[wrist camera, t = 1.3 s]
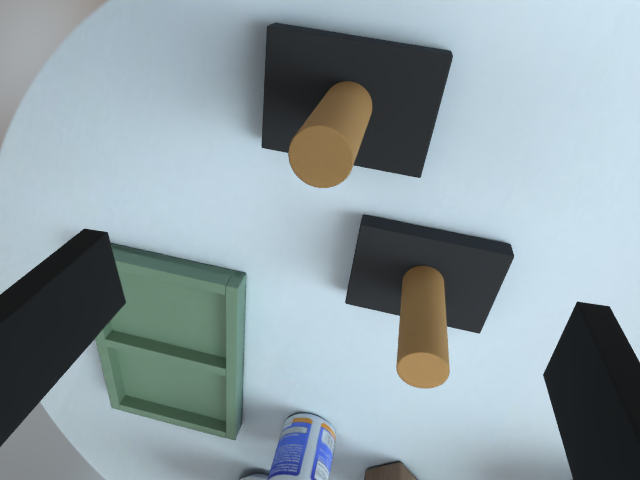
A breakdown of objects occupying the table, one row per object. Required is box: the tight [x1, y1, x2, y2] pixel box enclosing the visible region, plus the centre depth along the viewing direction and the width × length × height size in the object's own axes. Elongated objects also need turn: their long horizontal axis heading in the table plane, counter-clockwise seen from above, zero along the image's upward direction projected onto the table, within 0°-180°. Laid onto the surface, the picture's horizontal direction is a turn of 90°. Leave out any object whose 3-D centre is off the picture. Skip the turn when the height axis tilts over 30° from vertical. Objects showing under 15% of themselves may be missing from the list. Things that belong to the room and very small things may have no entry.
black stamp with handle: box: [262, 23, 453, 188], centre depth 22 cm, size 7×10×10 cm
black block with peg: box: [345, 215, 514, 388], centre depth 28 cm, size 7×10×10 cm
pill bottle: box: [268, 414, 336, 480], centre depth 40 cm, size 5×5×10 cm
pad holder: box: [95, 243, 246, 440], centre depth 41 cm, size 20×14×2 cm
